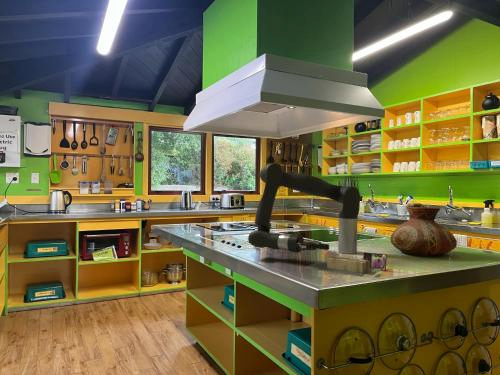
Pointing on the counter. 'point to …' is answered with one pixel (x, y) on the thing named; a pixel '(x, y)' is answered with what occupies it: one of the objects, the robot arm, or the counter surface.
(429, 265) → the counter surface
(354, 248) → the robot arm
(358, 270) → the beech block
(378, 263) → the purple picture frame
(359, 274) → the rubber mat
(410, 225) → the brown clay pot
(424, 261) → the counter surface
